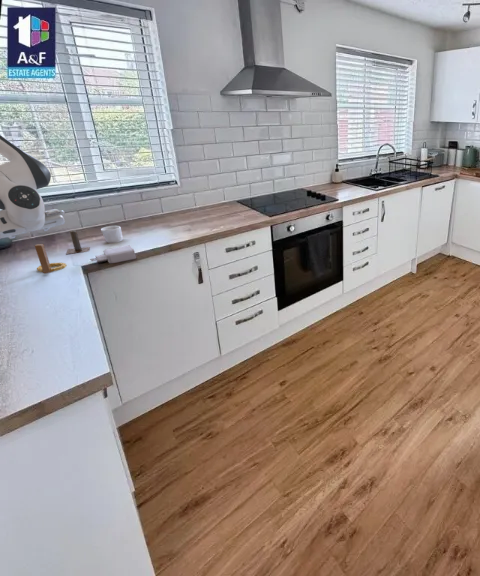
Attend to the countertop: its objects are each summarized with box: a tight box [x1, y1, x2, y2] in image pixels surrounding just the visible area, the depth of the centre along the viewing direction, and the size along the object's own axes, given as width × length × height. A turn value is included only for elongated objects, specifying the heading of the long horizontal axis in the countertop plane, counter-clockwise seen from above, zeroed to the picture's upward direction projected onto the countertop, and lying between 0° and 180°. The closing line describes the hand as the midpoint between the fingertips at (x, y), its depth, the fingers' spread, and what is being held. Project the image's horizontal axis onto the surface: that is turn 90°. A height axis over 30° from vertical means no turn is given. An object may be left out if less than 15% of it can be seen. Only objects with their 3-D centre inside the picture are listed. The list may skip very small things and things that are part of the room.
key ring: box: [34, 243, 67, 274], centre depth 142 cm, size 10×8×11 cm
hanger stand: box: [65, 229, 91, 256], centre depth 163 cm, size 8×8×10 cm
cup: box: [100, 225, 124, 244], centre depth 178 cm, size 11×8×8 cm
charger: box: [89, 244, 137, 264], centre depth 154 cm, size 5×9×15 cm
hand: (28, 232), depth 132 cm, fingers open, 8 cm apart
